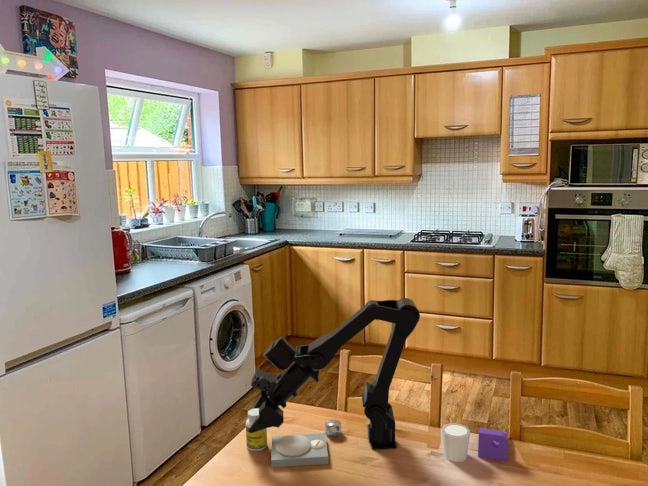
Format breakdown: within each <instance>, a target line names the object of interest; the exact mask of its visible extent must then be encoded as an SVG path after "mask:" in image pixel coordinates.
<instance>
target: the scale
mask: <svg viewBox="0 0 648 486" xmlns="http://www.w3.org/2000/svg"><path fill="white" fill-rule="evenodd" d="M326 439H327V437H326V435H325V432H320V433H319V432H318V433H316V432H315V433H299V434H287V435H272V436H271V452H270V453H271V455H270V462H271V463H270V464H271V466H270V467H271V468H272V469H273V468H284V467H285V468H286V467H299V466H313V465H314V466H315V465H316V466H317V465H328V464H329V454H328V453H329V452H328V446H327V440H326Z"/></svg>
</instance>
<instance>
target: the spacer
mask: <svg viewBox="0 0 648 486" xmlns="http://www.w3.org/2000/svg"><path fill="white" fill-rule="evenodd" d="M324 433H325V437H326V438H330V439H333V438H339V437H340V436H341V435H342V422H341V421H340V420H338V419H333V418H332V419H329V420H326V421H325V422H324Z"/></svg>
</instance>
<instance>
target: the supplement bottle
mask: <svg viewBox="0 0 648 486" xmlns="http://www.w3.org/2000/svg"><path fill="white" fill-rule="evenodd" d="M258 416H259V408H254V409H253V408H251V409H249V410H248V411H247V419H246V421H245V437H246V439H245V440H246V447H247V449H248V450H249V451H252V452H259V451H260V452H261V451H262V450H264V449H266V448H267V445H268V432H267V431H268V428H266V429H263V430H260V431H257V432H254V433H250V432H249V431H248V430H249V428H250V427H251V425H252V424H253V423H254V421H255V420H256V418H257V417H258Z"/></svg>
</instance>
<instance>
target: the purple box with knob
mask: <svg viewBox="0 0 648 486" xmlns="http://www.w3.org/2000/svg"><path fill="white" fill-rule="evenodd" d="M507 433H508V432H507V431H502V430H496V429H488V428H483V427H482V428H481V427H480V428H478V444H477V458H483V459H489V460H497V461H504V462H508V446H509V443H508V442H509V441H508V434H507Z"/></svg>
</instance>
